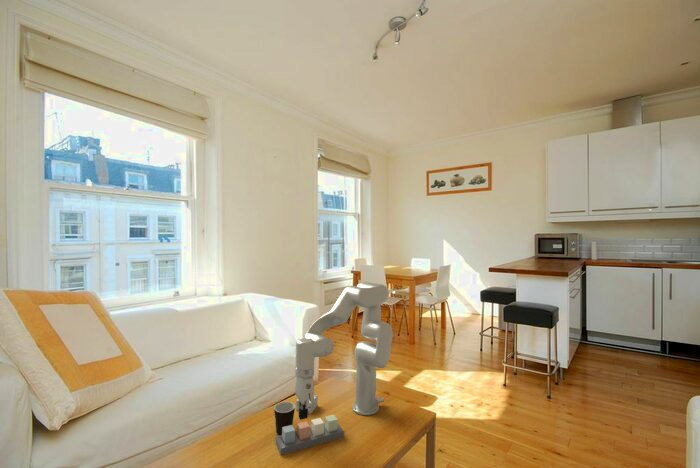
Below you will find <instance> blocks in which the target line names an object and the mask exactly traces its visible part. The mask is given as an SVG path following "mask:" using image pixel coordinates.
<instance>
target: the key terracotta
mask: <svg viewBox="0 0 700 468" xmlns="http://www.w3.org/2000/svg"><path fill="white" fill-rule="evenodd" d="M310 428H311V425H309V423H308V421H307V420H306V421H303V422H299V423H298V422H297V424H296V431H297V436H298V438H299V440H303V439H307V438H310Z"/></svg>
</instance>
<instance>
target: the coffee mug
mask: <svg viewBox="0 0 700 468" xmlns="http://www.w3.org/2000/svg"><path fill="white" fill-rule="evenodd" d="M273 411H274V412H273V413H274V419H275V420H274V422H275V432H276V435H277V436H280V435H282V427H285V426H289V425H294V416H295V411H296V405H295V403H293V402H291V401H281V402H278V403H276V404H275V405H274V408H273Z"/></svg>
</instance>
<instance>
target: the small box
mask: <svg viewBox="0 0 700 468" xmlns="http://www.w3.org/2000/svg"><path fill="white" fill-rule="evenodd" d="M318 398H319V396H318V395H315V394H314V403H311V401H310V400H309V405H310V408H308V414H312V413H313V412H314V410H315V409H316V408H317V407H318ZM295 404H296V405H295V411H298V412H299V408H300V407H299V399H298V398H296V403H295Z"/></svg>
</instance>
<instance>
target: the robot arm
mask: <svg viewBox="0 0 700 468" xmlns="http://www.w3.org/2000/svg"><path fill="white" fill-rule="evenodd" d="M389 294H390V293H389V289H388V287H387V286H386V285H384V284H381V283H380V284H379V283H374V282H369V281H368V282H367V281H361V282H359V283H358V284H356V286H354V285H348V286H346V287H345V288H344V289H343V291H342V292H341V294H340V295H339V297H338V298H337V300H336V301H335V303H334V304H333V306H332V307H331V309H330V311H328V312H326V313H324V314H323V315H322V316H320V317H319V318H317V319H316V320H315V321H314V322H312V324H311V325H310V327H309V328H308V330H307V331H306V333H305V334H304V337H303V338H300V339H298V340H297V341H296V343H295V361H294V363H295V365H294V376H295V386H294V387H295V389H294V390H295V392H294V393H295V396H296V399H299V407H300V408H299V411H298V418H299V420H305V419H306V420H307V419H308V416H309V413H308V408H310V405H309V400H310V401H311V403H314V395H315V382H314V381H315V380H314V376H315V358H322V357H328V356H329V355H330V354H332V353H333V351H334V347H335V344H334V341H333V340H332V339H331V338H329V337H327V336H324V335H323V333H324V332H325V331H326V330H327V329H330V328H332V327H335V326H336V327H337V326H339V325H343V324H345V323H347V321H348V319H349V318H350V316H351V315H352V313H353V311H354V310H355V308H356V307H360V308H363V313H362V321H361V327H360V332H361V333H360V334H361V336H362V337H363V338H365V339H368V340H371V341H374V342H376V343H374V342H371V341H367V340H362V341H359V342H358V343H357V344H355V348H354V357H355V358H354V359H355V368H356V370H355V373H356V374H355V376H356V377H355V378H356V379H355V401H354V402H353V403H352V407H351V408H352V410H353V412H354V413H356V414H357V415H361V416H373V415H375V414H377V413H378V412H379V409H380V407H379V404H380V403H385V398H384V397H380V396H376V395H377V393H376V392H377V391H376V390H377V369H376V368H379V369H384V368H386V367H387V365H388V364H389V361H390V357H391V352H392V351H391V349H392V343H393V335H394V333H393V331H394V330H393V328H392V326H391V325H390V323H388V322H385V321H383V320H381V317H382V316H381V315H382V307H381V305H382V304H384V303H385V302H386V301H387V300H388V299H389V296H390V295H389Z"/></svg>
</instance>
